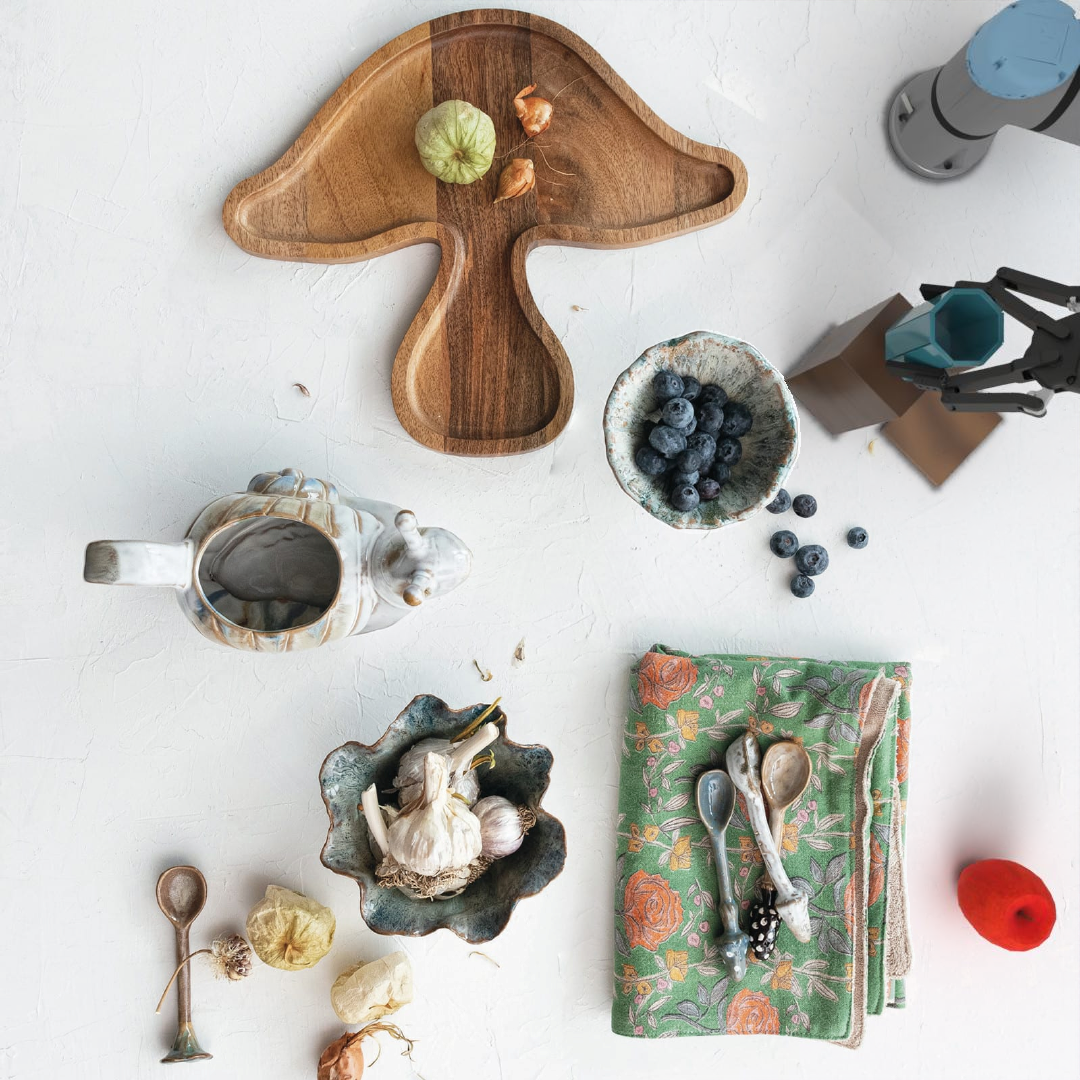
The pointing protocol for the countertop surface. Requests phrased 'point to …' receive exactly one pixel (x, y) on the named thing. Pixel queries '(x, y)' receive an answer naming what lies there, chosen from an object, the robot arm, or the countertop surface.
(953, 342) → the cup
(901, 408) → the block
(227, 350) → the countertop surface
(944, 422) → the mat
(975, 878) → the apple
